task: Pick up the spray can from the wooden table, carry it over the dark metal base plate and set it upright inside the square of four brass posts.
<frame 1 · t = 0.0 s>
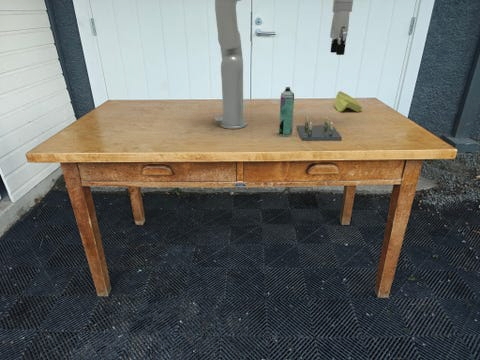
hand: (337, 53, 136), 31 cm above the table, tool pointing down, fingers open, 9 cm apart
plastic component: (346, 108, 177), on the table
post plate: (317, 134, 138), on the table
spray can: (285, 134, 138), on the table
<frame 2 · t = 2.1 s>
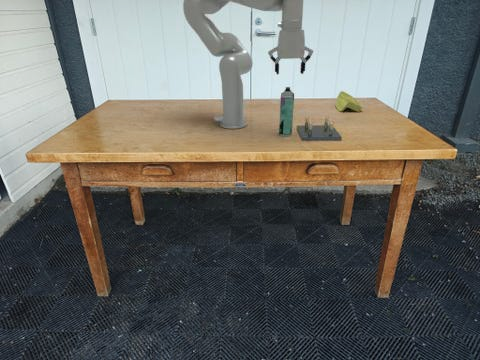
hand: (289, 73, 126), 25 cm above the table, tool pointing down, fingers open, 9 cm apart
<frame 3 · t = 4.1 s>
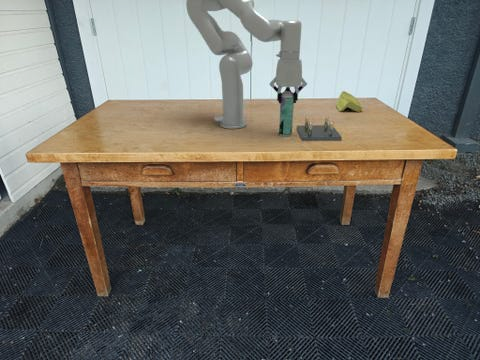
hand: (287, 102, 132), 14 cm above the table, tool pointing down, fingers closed on spray can, 5 cm apart
spray can: (285, 134, 138), on the table, touching gripper
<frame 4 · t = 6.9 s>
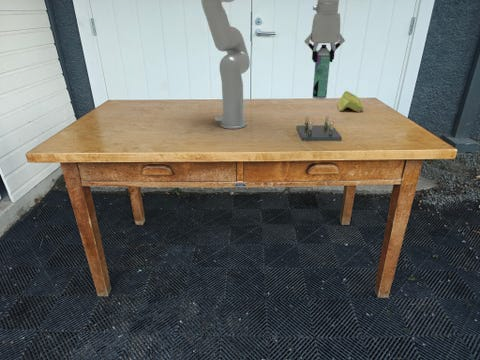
hand: (322, 61, 124), 30 cm above the table, tool pointing down, fingers closed on spray can, 5 cm apart
spray can: (319, 98, 131), point 16 cm above the table, touching gripper
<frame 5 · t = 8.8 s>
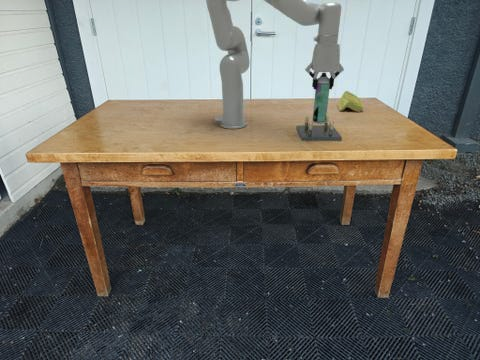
hand: (322, 88, 129), 19 cm above the table, tool pointing down, fingers closed on spray can, 5 cm apart
spray can: (319, 122, 135), point 5 cm above the table, touching gripper
when the fingers open (18 cm above the table, at t = 10.0 s): spray can drops 2 cm, resting on post plate.
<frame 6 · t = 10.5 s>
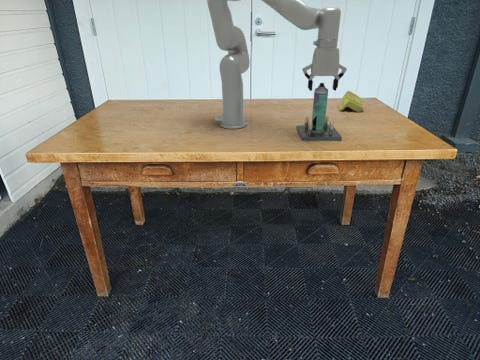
hand: (322, 90, 129), 19 cm above the table, tool pointing down, fingers open, 9 cm apart
spray can: (317, 131, 137), point 1 cm above the table, touching post plate
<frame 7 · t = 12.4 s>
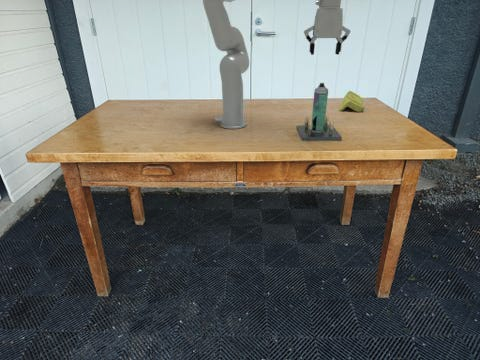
hand: (324, 54, 124), 32 cm above the table, tool pointing down, fingers open, 9 cm apart
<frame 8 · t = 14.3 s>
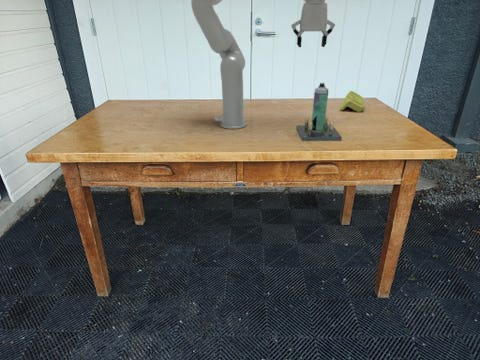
hand: (311, 46, 131), 34 cm above the table, tool pointing down, fingers open, 9 cm apart
at the end: spray can 0.3 cm off-centre on the post plate, point 1.3 cm above the post plate's base; spray can tilted 0°; the gripper is holding nothing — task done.
